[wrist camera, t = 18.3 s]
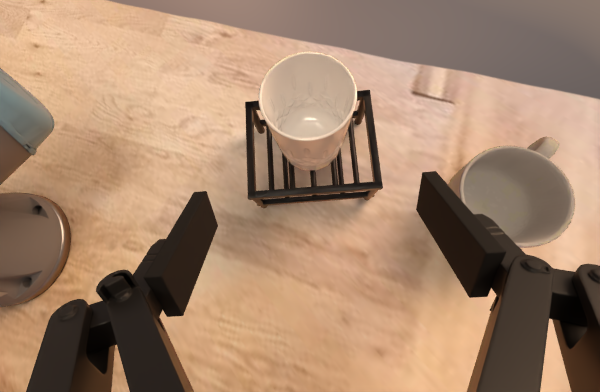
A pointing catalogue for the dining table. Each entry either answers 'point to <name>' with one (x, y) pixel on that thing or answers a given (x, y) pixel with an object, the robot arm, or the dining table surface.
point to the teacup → (519, 191)
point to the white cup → (308, 107)
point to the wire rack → (314, 190)
